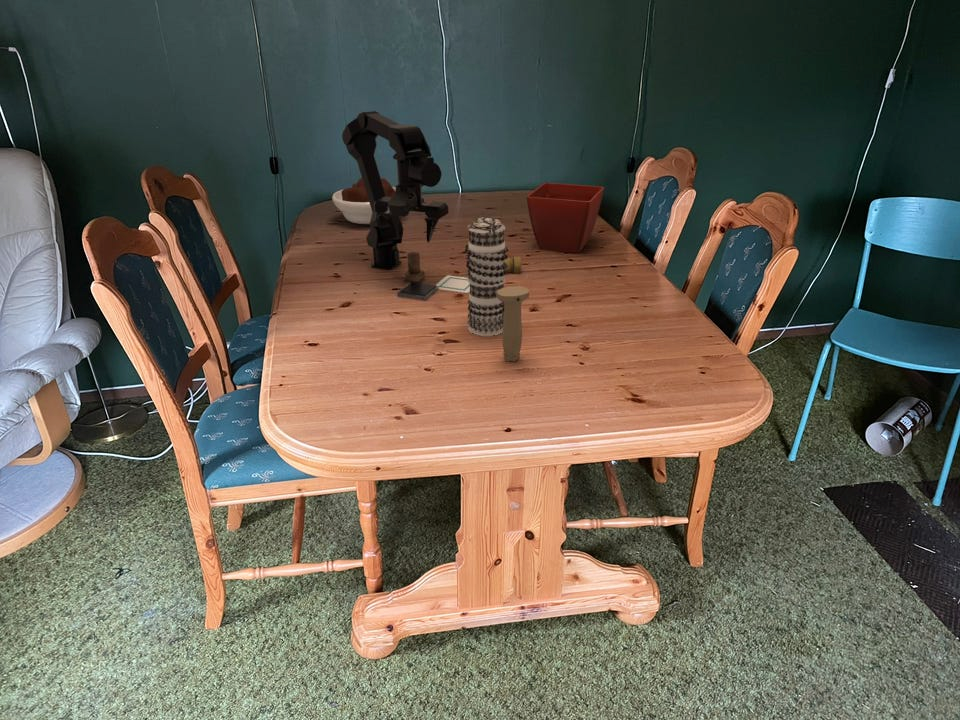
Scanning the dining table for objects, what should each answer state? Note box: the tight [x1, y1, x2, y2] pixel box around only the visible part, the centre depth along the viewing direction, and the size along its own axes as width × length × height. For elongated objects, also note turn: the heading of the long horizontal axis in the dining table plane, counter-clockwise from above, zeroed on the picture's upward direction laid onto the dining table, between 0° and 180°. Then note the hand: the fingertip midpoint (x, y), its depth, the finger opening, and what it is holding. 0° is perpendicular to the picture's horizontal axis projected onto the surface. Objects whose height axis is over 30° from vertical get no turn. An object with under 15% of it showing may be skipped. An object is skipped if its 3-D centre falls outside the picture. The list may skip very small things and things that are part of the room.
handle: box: [497, 285, 530, 363], centre depth 129 cm, size 5×6×15 cm
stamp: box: [403, 251, 426, 284], centre depth 172 cm, size 4×4×7 cm
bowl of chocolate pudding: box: [331, 177, 396, 225], centre depth 221 cm, size 25×25×15 cm
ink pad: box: [396, 282, 439, 302], centre depth 165 cm, size 8×8×1 cm
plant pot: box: [526, 182, 605, 254], centre depth 195 cm, size 19×19×17 cm
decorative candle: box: [464, 216, 509, 337], centre depth 140 cm, size 9×9×25 cm
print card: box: [435, 274, 470, 295], centre depth 170 cm, size 10×10×1 cm
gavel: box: [503, 256, 522, 274], centre depth 185 cm, size 21×5×10 cm
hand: (412, 239), depth 168 cm, fingers open, 9 cm apart
